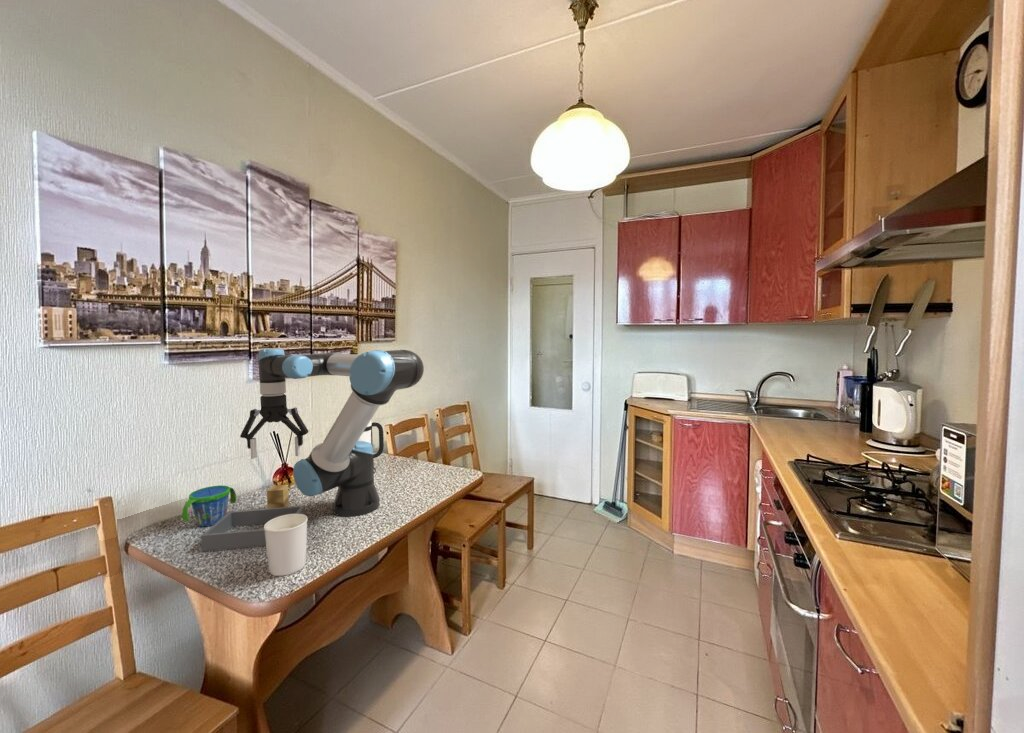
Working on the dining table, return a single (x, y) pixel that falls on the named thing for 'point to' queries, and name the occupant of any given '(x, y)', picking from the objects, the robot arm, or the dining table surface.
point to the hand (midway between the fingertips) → (276, 456)
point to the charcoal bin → (240, 539)
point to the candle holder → (286, 543)
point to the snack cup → (209, 504)
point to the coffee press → (367, 437)
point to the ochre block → (278, 496)
